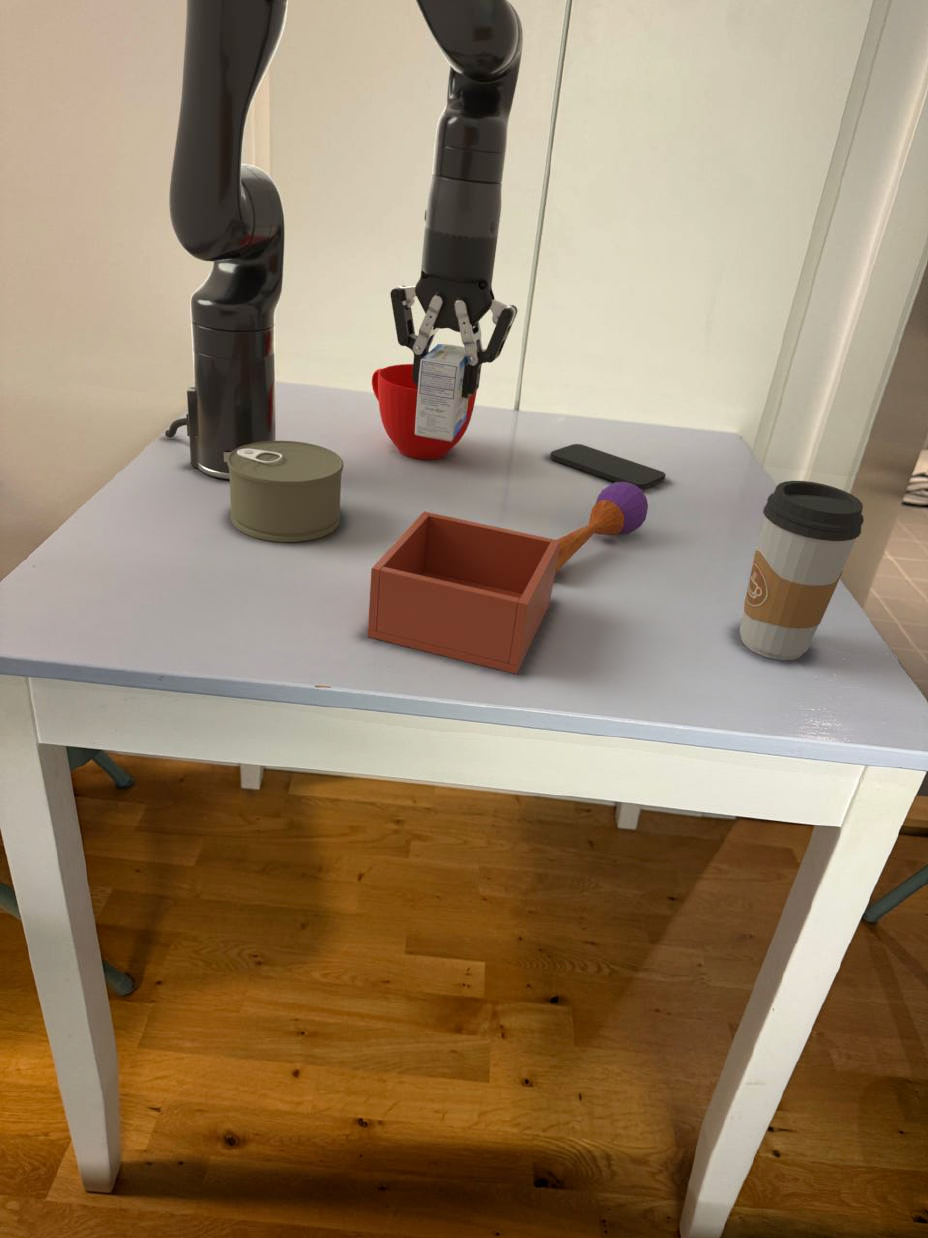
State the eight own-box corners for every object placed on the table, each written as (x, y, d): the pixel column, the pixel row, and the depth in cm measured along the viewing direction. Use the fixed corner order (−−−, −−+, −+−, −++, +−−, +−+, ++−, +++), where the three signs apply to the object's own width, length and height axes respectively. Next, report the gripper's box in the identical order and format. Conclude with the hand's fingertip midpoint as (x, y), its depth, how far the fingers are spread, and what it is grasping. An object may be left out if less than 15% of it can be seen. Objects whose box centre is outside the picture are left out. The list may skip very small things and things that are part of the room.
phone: (577, 442, 128) (669, 473, 120) (576, 448, 129) (668, 479, 121) (547, 452, 123) (641, 485, 115) (546, 458, 123) (640, 491, 116)
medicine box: (452, 443, 98) (461, 364, 94) (413, 436, 99) (420, 357, 94) (466, 422, 105) (475, 347, 101) (429, 415, 106) (436, 341, 101)
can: (312, 552, 92) (313, 489, 88) (207, 528, 94) (204, 466, 91) (358, 511, 102) (360, 453, 98) (262, 490, 104) (261, 433, 101)
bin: (367, 637, 78) (371, 567, 75) (418, 573, 90) (423, 510, 87) (516, 674, 76) (527, 604, 72) (549, 603, 87) (560, 540, 84)
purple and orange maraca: (515, 532, 91) (610, 472, 105) (519, 585, 94) (611, 519, 108) (565, 541, 88) (657, 478, 102) (568, 595, 91) (656, 527, 104)
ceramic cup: (405, 421, 131) (410, 352, 126) (489, 456, 122) (498, 383, 117) (335, 435, 123) (338, 362, 118) (420, 475, 113) (426, 397, 108)
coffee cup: (715, 619, 88) (755, 475, 80) (795, 623, 89) (842, 481, 81) (745, 666, 81) (792, 513, 73) (832, 669, 82) (887, 519, 74)
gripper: (537, 234, 93) (513, 396, 102) (408, 213, 96) (395, 372, 104) (521, 242, 87) (497, 413, 95) (382, 219, 89) (371, 387, 98)
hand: (444, 391), depth 100 cm, fingers closed on medicine box, 4 cm apart
